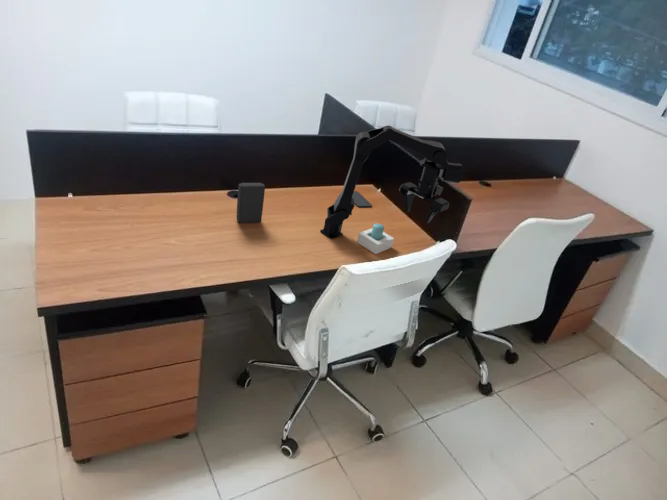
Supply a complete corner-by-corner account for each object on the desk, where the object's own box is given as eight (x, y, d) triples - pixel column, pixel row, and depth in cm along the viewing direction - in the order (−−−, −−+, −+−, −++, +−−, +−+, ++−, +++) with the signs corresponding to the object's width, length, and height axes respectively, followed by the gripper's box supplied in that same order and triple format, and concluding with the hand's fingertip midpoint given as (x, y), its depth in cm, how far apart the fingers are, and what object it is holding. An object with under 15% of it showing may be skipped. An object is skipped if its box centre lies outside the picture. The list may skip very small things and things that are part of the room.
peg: (374, 248, 176) (379, 230, 172) (366, 243, 178) (371, 225, 174) (381, 245, 179) (386, 227, 175) (373, 240, 181) (378, 222, 177)
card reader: (259, 217, 181) (263, 181, 173) (262, 223, 178) (266, 186, 170) (235, 218, 177) (238, 181, 170) (237, 224, 174) (240, 186, 167)
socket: (375, 254, 173) (377, 244, 171) (356, 242, 178) (358, 232, 176) (391, 247, 179) (394, 238, 177) (373, 235, 184) (375, 226, 182)
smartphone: (357, 191, 217) (373, 205, 206) (357, 192, 218) (372, 207, 206) (343, 191, 214) (358, 206, 203) (343, 193, 215) (357, 208, 203)
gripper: (463, 185, 169) (450, 223, 177) (421, 165, 180) (411, 202, 188) (446, 190, 162) (433, 230, 170) (403, 169, 172) (393, 208, 180)
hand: (417, 217), depth 177 cm, fingers open, 9 cm apart
